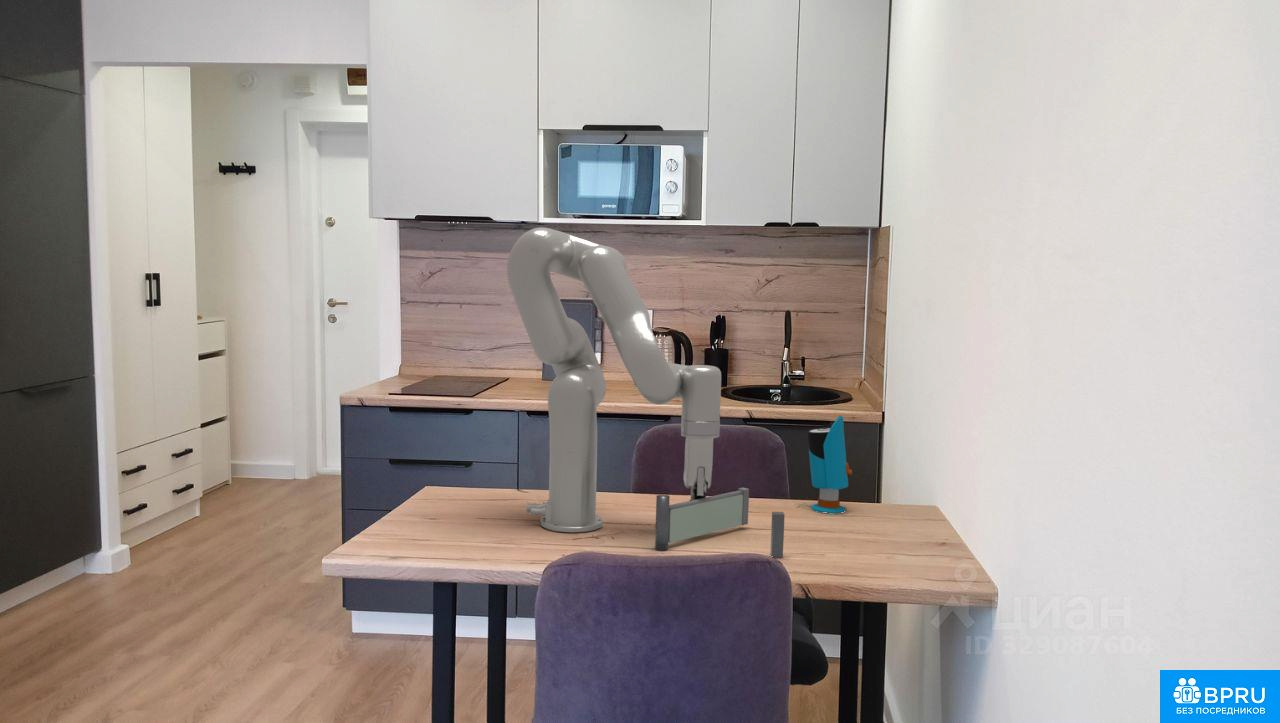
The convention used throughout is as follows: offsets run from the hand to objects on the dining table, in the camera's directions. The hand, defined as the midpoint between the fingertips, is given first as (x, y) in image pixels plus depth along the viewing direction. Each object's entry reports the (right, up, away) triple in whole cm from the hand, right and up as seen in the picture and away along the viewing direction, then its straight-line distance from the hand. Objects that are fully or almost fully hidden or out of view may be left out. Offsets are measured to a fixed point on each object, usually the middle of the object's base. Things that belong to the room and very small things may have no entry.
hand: (697, 520), depth 183 cm
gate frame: (+3, -4, -13) cm, 13 cm away
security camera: (+30, -2, +23) cm, 38 cm away
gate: (+2, -2, -3) cm, 4 cm away
